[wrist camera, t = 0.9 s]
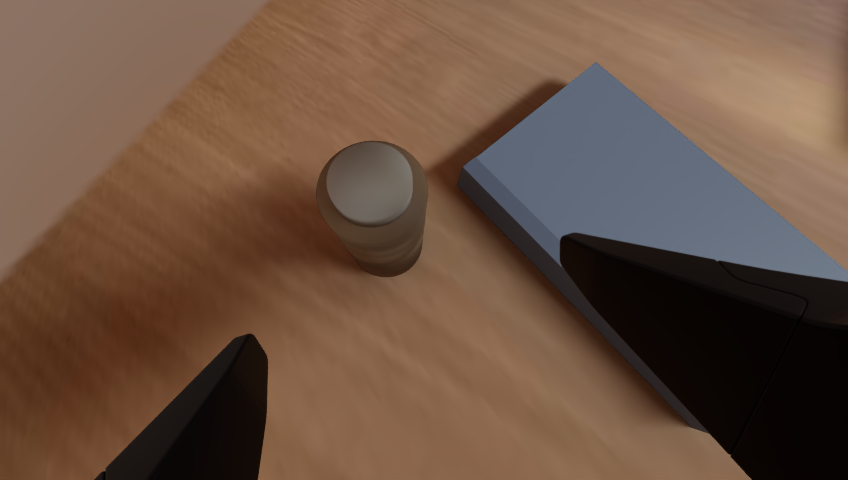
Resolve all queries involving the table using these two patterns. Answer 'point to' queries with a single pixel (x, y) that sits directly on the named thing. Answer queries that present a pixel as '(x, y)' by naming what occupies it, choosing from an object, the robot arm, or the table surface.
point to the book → (625, 196)
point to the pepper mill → (375, 205)
